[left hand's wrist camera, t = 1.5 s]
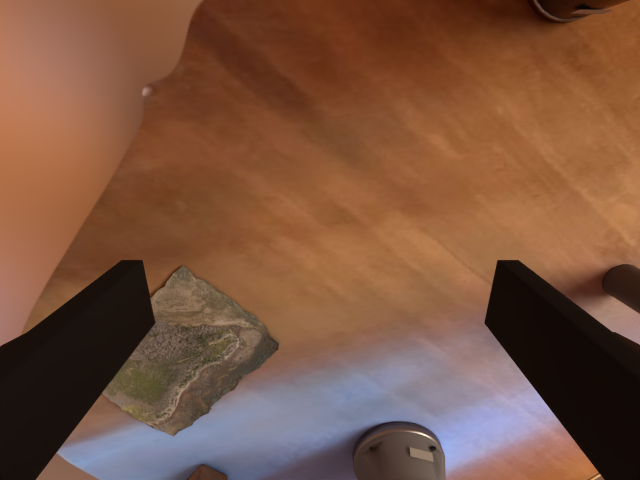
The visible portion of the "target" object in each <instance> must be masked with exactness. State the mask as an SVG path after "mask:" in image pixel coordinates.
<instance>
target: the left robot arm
mask: <svg viewBox="0 0 640 480" xmlns="http://www.w3.org/2000/svg"><path fill="white" fill-rule="evenodd" d="M154 325H155V318H154V313H153V308H152V304H151V299H150V294H149V289H148V285H147V280H146V275H145V270H144V265H143V261H142V260H121V261H120V262H119V263H117V264H116V265H115V266H113V267H112V268H111V269H110V270H108V271H107V272H106V273H104V274H103V275H102V276H100V277H99V278H98V279H96V280H95V281H94V282H93V283H91V284H90V285H89V286H87V287H86V288H85V289H83V290H82V291H81V292H79V293H78V294H77V295H76V296H74V297H73V298H72V299H70V300H69V301H68V302H66V303H65V304H64V305H62V306H61V307H60V308H58V309H57V310H56V311H55V312H53V313H52V314H51V315H49V316H48V317H47V318H45V319H44V320H43V321H41V322H40V323H39V324H38V325H36V326H35V327H34V328H32V329H31V330H30V331H28V332H27V333H25V334H23V335H21V336H19V337H17V338H15V339H13V340H11V341H10V342H8V343H6V344H4V345H2V346H0V480H36V478H37V477H38V476H39V474H40V473H41V472H42V470H43V469H44V468H45V467H46V465H47V464H48V463H49V461H50V460H51V459H52V457H53V456H54V455H55V454H56V452H57V451H58V450H59V448H60V447H61V446H62V444H63V443H64V442H65V441H66V439H67V438H68V437H69V435H70V434H71V433H72V431H73V430H74V429H75V428H76V426H77V425H78V424H79V422H80V421H81V420H82V418H83V417H84V416H85V414H86V413H87V412H88V411H89V409H90V408H91V407H92V405H93V404H94V403H95V401H96V400H97V399H98V398H99V396H100V395H101V394H102V392H103V391H104V390H105V388H106V387H107V386H108V384H109V383H110V382H111V381H112V379H113V378H114V377H115V375H116V374H117V373H118V371H119V370H120V369H121V368H122V366H123V365H124V364H125V362H126V361H127V360H128V358H129V357H130V356H131V354H132V353H133V352H134V351H135V349H136V348H137V347H138V345H139V344H140V343H141V341H142V340H143V339H144V338H145V336H146V335H147V334H148V332H149V331H150V330H151V328H152V327H153V326H154ZM485 325H486V326H487V327H488V328H489V330H490V331H491V332H492V334H493V335H494V336H495V338H496V339H497V340H498V341H499V343H500V344H501V345H502V347H503V348H504V349H505V351H506V352H507V353H508V354H509V356H510V357H511V358H512V360H513V361H514V362H515V364H516V365H517V366H518V368H519V369H520V370H521V371H522V373H523V374H524V375H525V377H526V378H527V379H528V381H529V382H530V383H531V384H532V386H533V387H534V388H535V390H536V391H537V392H538V394H539V395H540V396H541V398H542V399H543V400H544V401H545V403H546V404H547V405H548V407H549V408H550V409H551V411H552V412H553V413H554V414H555V416H556V417H557V418H558V420H559V421H560V422H561V424H562V425H563V426H564V428H565V429H566V430H567V431H568V433H569V434H570V435H571V437H572V438H573V439H574V441H575V442H576V443H577V444H578V446H579V447H580V448H581V450H582V451H583V452H584V454H585V455H586V456H587V457H588V459H589V460H590V461H591V463H592V464H593V465H594V467H595V468H596V469H597V471H598V472H599V473H600V474H601V476H602V477H603V478H604V480H640V345H639V344H637V343H635V342H633V341H631V340H629V339H628V338H626V337H624V336H622V335H620V334H618V333H616V332H612V331H610V330H609V329H608V328H606V327H605V326H604V325H602V324H601V323H600V322H599V321H597V320H596V319H595V318H593V317H592V316H591V315H589V314H588V313H587V312H585V311H584V310H583V309H582V308H580V307H579V306H578V305H576V304H575V303H574V302H572V301H571V300H570V299H568V298H567V297H566V296H564V295H563V294H562V293H561V292H559V291H558V290H557V289H555V288H554V287H553V286H551V285H550V284H549V283H547V282H546V281H545V280H544V279H542V278H541V277H540V276H538V275H537V274H536V273H534V272H533V271H532V270H530V269H529V268H528V267H527V266H525V265H524V264H523V263H521V262H520V261H519V260H498V261H497V265H496V270H495V275H494V280H493V285H492V289H491V294H490V299H489V304H488V308H487V313H486V318H485ZM353 463H354V471H355V474H356V476H357V479H358V480H445V456H444V452H443V450H442V447H441V444H440V442H439V439H438V438H437V437H436V435H435V434H434V433H433V432H431V431H430V430H429V429H427V428H425V427H423V426H421V425H418V424H414V423H408V422H394V423H387V424H384V425H380V426H378V427H375V428H373V429H371V430H370V431H368V432H367V433H365V434H364V435H363V436H362V437H361V438H360V439H359V440H358V442H357V443H356V445H355V447H354V451H353Z"/></svg>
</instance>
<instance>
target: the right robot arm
mask: <svg viewBox="0 0 640 480" xmlns="http://www.w3.org/2000/svg"><path fill="white" fill-rule="evenodd" d="M626 1H629V0H529V2H530V4H531V6H532V7H533V9H534V10H535V11H536V12H537V13H538V14H539V15H540V16H541V17H543V18H545V19H547V20H549V21H552V22H558V23H565V22H571V21H575V20H578V19H580V18H583V17H586V16H588V15H590V14H604V13H607V12H610V11H613V10H603V9H606V8H609V7H612V6H615V5H617V4H620V3H623V2H626Z"/></svg>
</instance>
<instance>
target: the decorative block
mask: <svg viewBox="0 0 640 480" xmlns="http://www.w3.org/2000/svg"><path fill="white" fill-rule="evenodd" d="M188 480H228V478H227V475H225V474H222V473H220V472H218V471H216V470H214V469H212V468H210V467H208V466H206V465H204V464H203V465H201V466H200V467H199V468H198V469H197V470H196V471H195V472H194V473H193V474H192V475H191V477H190V478H189V479H188Z"/></svg>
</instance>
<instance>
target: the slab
mask: <svg viewBox="0 0 640 480" xmlns="http://www.w3.org/2000/svg"><path fill="white" fill-rule="evenodd" d="M150 299H151V304H152V308H153V313H154V318H155V325H154V326H153V327H152V328H151V330H150V331H149V332H148V334H147V335H146V336H145V338H144V339H143V340H142V341H141V343H140V344H139V345H138V347H137V348H136V349H135V351H134V352H133V353H132V354H131V356H130V357H129V358H128V360H127V361H126V362H125V364H124V365H123V366H122V368H121V369H120V370H119V371H118V373H117V374H116V375H115V377H114V378H113V379H112V381H111V382H110V383H109V384H108V386H107V387H106V388H105V390H104V391H103V392H102V394H103V395H104V396H105V397H107V398H108V399H109V400H110V401H111V402H113V403H115V404H117V405H119V407H120V408H121V409H122V410H124V411H128V412H129V413H130V414H131V415H132V417H133V418H135V419H139V420H142V421H143V422H145V423H146V424H148V425H149V426H151V427H153V428H155V429H158V430H161V431H163V432H166V433H168V434H170V435H172V436H175V435H176V434H177V432H179V431H181V430H183V429H185V428H187V427H189V426H191V425H192V424H193V422H194V421H195V420H197V419H198V418H199V417H201V416H203V415H205V414H207V413H209V411H210V410H211V408H210V407H211V406H212V405H213V404H214V403H215V402H216V401H218V400H219V399H220V398H221V397H222V396H223V395H225V394H226V393H228V392H229V391H232V390H234V389H235V388H236V386H237V384H238V382H239V381H240V380H242V379H243V378H244V377H245V376H246V375H247V374H249V373H251V372H252V371H254V370H256V369H258V368H259V367H260V366H261V365H262V364H263V363H264V362H265V361H266V360H267V359H268V358H269V357H270V356H271V355H272V354H273V353H274V352H275V351H276V350H278V347H279V343H278V342H276V341H275V340H274V339H272V338H271V337H270V335H269V333H268V331H267V329H266V327H265V326H264V325H263V324H261V323H260V322H259V321H258V319H257V318H256V317H255V316H253V315H252V314H250V313H249V312H245V311H244V310H242V309H241V308H240V307H239V306H238V305H237V304H236V303H235V302H234V301H232V300H231V299H230V298H228V297H227V296H225V295H224V294H222V293H221V292H219V291H217V290H215V289H214V287H212V286H211V285H209V284H207V283H206V281H205V280H201V279H195V277H194V276H193V274H192V273H191V272H190V271H189V270H188V269H187V268H185V267H184V266H182V267H181V268H179V269H178V270H177V271H176V272H175V273H173V274H172V276H171V277H170V278H169V280H168V281H167V282H166V285H165V287H163V288H161V289H159V290H158V291H157V292H156V293H155V294H154V295H153V296H152V297H151V298H150Z"/></svg>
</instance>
